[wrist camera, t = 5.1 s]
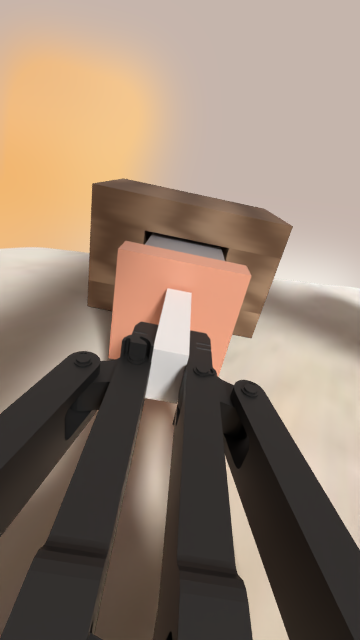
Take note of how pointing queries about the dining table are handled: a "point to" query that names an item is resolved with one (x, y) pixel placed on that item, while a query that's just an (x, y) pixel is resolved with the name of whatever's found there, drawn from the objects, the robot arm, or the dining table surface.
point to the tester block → (183, 236)
